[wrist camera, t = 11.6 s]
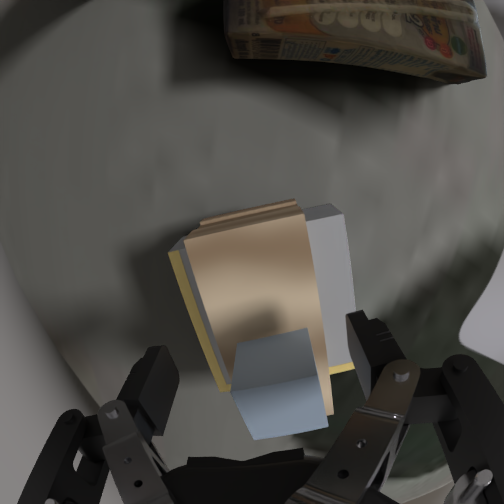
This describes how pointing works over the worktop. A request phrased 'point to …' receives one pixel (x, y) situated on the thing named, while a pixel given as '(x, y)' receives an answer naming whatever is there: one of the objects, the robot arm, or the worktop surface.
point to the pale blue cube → (278, 385)
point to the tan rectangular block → (259, 280)
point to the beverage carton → (362, 34)
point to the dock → (328, 283)
